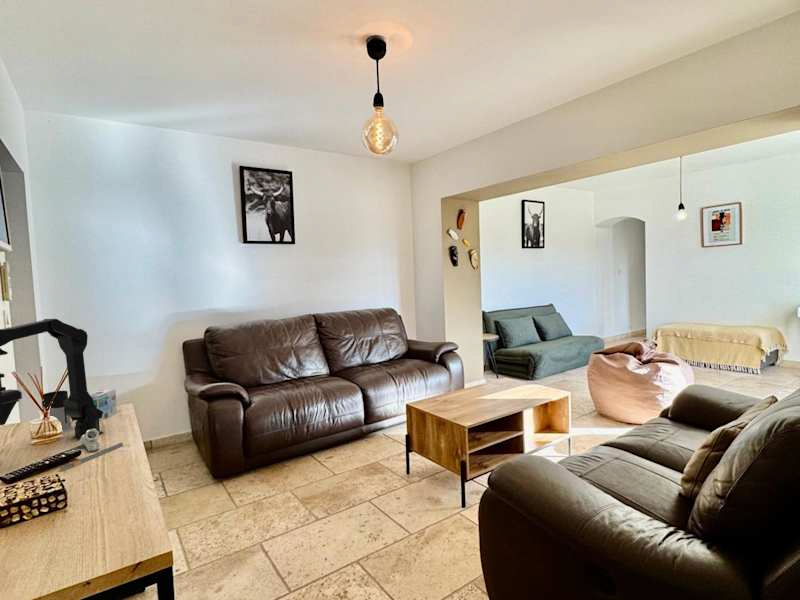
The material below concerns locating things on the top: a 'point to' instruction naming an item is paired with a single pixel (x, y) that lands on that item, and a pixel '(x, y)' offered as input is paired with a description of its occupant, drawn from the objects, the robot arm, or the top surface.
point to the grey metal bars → (78, 462)
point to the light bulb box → (105, 402)
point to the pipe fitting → (90, 440)
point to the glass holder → (58, 408)
